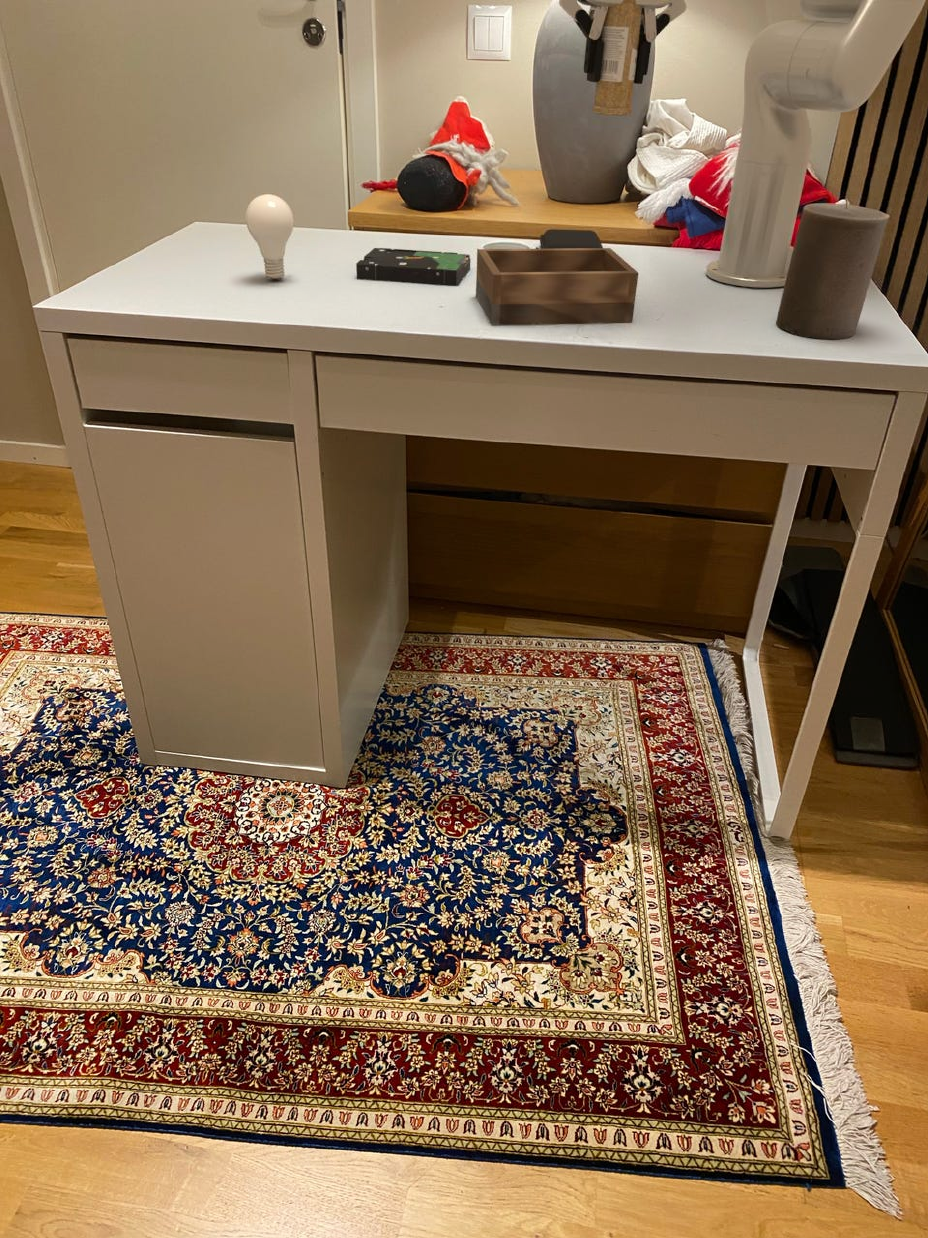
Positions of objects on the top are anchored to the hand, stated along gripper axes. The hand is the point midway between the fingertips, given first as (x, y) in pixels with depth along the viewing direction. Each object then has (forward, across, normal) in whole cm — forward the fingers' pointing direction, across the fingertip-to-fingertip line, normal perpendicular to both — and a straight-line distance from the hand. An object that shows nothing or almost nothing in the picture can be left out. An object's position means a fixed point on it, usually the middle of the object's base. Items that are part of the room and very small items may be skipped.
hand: (614, 79), depth 102 cm
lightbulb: (+27, +40, -18) cm, 51 cm away
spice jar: (+4, 0, 0) cm, 4 cm away
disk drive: (+27, +20, -20) cm, 39 cm away
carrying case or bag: (+26, -5, -30) cm, 40 cm away
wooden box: (+26, +5, -1) cm, 26 cm away
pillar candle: (+26, -27, +10) cm, 39 cm away
